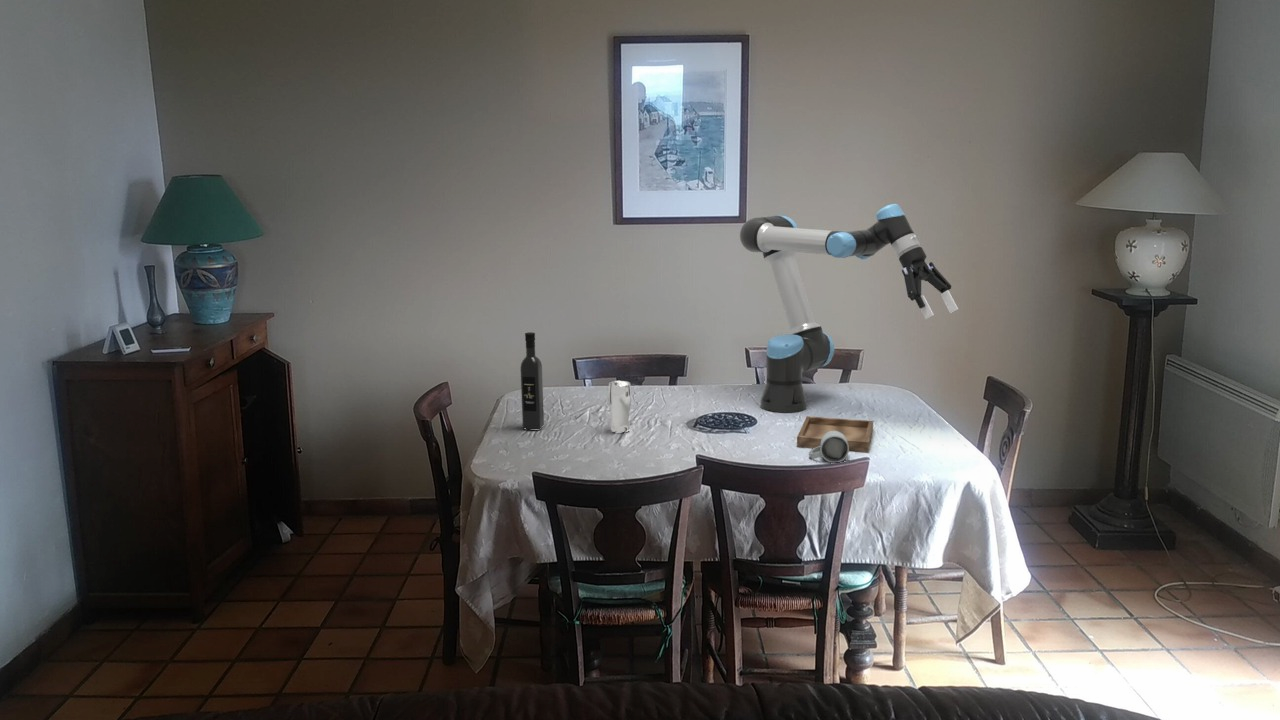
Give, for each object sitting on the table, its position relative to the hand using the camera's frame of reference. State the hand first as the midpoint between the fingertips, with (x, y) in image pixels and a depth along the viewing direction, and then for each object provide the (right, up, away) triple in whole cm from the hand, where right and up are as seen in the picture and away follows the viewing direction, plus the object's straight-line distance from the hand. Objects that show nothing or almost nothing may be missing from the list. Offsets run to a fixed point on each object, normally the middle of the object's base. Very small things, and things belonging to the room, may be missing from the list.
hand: (942, 314), depth 277 cm
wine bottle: (-122, -35, +13) cm, 128 cm away
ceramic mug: (-37, -41, -18) cm, 58 cm away
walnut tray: (-32, -37, -1) cm, 49 cm away
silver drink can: (-95, -35, +9) cm, 102 cm away
